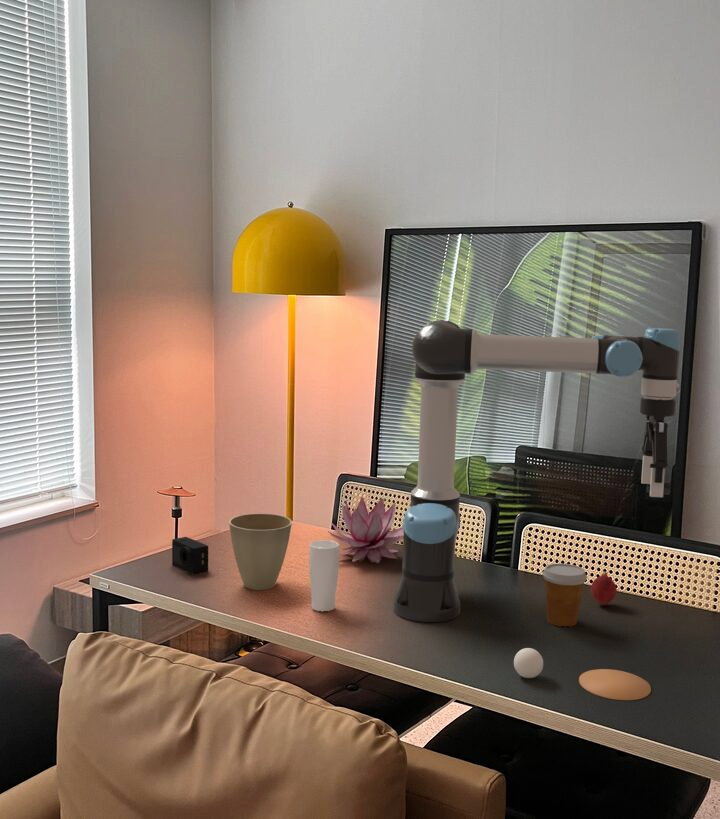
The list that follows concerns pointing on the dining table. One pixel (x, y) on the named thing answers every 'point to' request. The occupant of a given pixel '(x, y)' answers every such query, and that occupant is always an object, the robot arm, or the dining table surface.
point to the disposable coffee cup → (563, 593)
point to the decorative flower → (369, 531)
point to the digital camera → (190, 555)
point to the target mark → (614, 684)
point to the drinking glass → (323, 574)
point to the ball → (528, 663)
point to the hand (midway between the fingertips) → (651, 490)
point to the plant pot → (260, 547)
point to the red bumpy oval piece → (603, 589)
